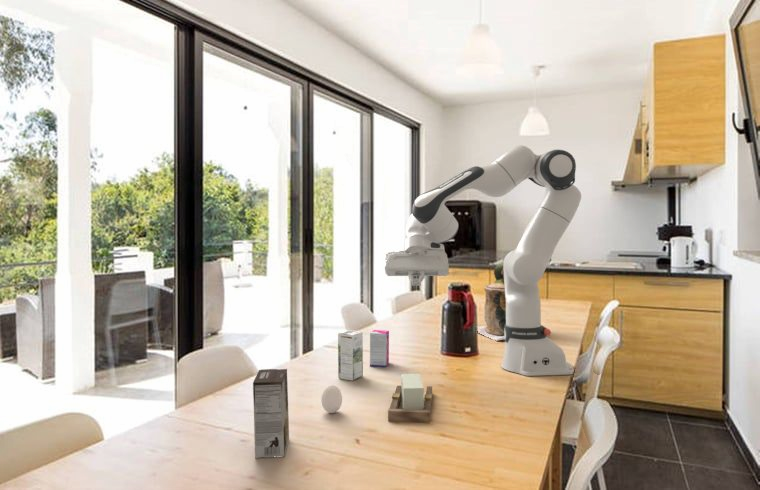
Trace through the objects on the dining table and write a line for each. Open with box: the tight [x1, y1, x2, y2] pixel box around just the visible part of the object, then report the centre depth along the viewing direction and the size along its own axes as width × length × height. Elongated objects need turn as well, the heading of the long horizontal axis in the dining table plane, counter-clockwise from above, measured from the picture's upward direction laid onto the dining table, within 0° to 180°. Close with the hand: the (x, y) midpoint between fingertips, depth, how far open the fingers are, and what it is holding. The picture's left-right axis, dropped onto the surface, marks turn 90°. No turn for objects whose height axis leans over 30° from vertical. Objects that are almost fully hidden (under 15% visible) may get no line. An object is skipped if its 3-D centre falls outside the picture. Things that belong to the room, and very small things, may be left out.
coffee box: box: [252, 368, 290, 459], centre depth 105 cm, size 9×6×16 cm
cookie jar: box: [477, 263, 506, 342], centre depth 210 cm, size 25×25×32 cm
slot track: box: [387, 385, 433, 424], centre depth 128 cm, size 10×20×3 cm, turn 172°
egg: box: [320, 383, 343, 414], centre depth 124 cm, size 5×5×7 cm
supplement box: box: [369, 329, 390, 368], centre depth 167 cm, size 6×6×12 cm
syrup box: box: [337, 329, 364, 382], centre depth 153 cm, size 6×6×14 cm
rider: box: [400, 373, 425, 410], centre depth 128 cm, size 5×12×7 cm, turn 0°
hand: (416, 284), depth 150 cm, fingers closed
